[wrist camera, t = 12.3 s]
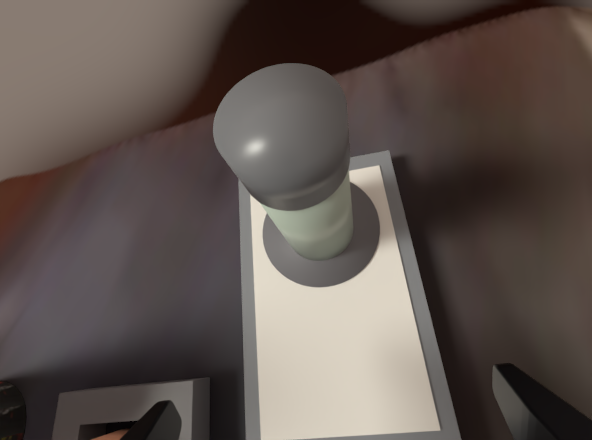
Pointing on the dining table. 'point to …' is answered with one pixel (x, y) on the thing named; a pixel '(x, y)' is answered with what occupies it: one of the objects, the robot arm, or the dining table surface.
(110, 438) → the button
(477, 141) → the dining table surface
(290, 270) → the board
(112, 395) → the button housing
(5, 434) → the deodorant
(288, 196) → the knob
